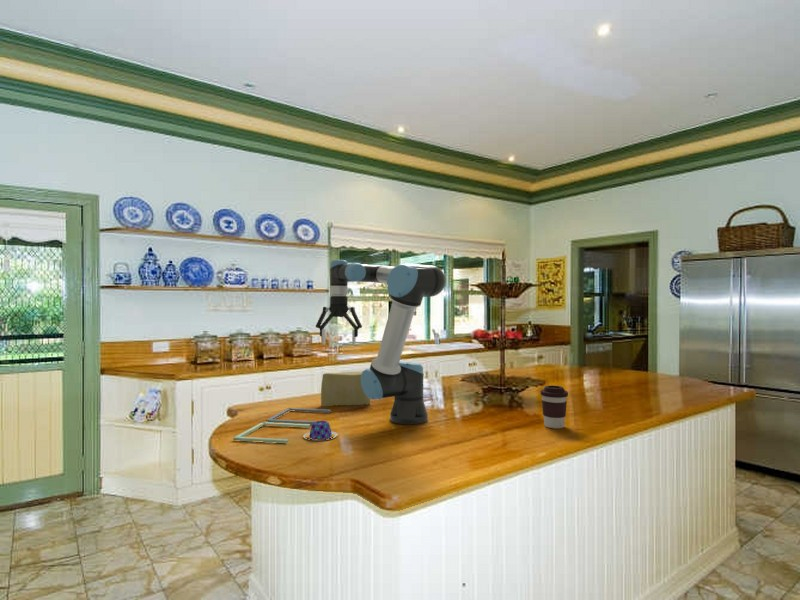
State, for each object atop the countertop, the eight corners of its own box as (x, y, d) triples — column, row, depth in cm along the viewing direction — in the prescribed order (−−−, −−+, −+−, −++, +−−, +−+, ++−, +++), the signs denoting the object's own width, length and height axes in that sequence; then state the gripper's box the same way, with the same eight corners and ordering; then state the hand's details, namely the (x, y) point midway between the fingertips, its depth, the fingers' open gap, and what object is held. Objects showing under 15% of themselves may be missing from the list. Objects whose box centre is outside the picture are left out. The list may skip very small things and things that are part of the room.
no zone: (331, 412, 199) (331, 409, 199) (313, 425, 179) (313, 422, 179) (288, 410, 203) (288, 407, 203) (266, 423, 182) (266, 420, 182)
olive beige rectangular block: (322, 408, 207) (322, 375, 207) (319, 404, 216) (319, 371, 216) (370, 405, 213) (370, 372, 213) (366, 401, 223) (366, 369, 223)
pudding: (297, 441, 160) (297, 425, 160) (312, 431, 171) (312, 417, 171) (329, 443, 157) (329, 428, 157) (342, 433, 168) (342, 419, 168)
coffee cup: (569, 424, 179) (569, 385, 179) (566, 431, 170) (566, 390, 170) (542, 421, 183) (542, 383, 183) (538, 428, 174) (538, 388, 174)
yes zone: (310, 427, 176) (310, 424, 176) (286, 444, 155) (286, 440, 155) (262, 425, 179) (262, 421, 179) (233, 441, 159) (233, 437, 159)
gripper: (368, 295, 204) (368, 343, 205) (314, 295, 208) (314, 342, 208) (364, 295, 197) (364, 345, 197) (308, 295, 201) (308, 344, 201)
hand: (338, 344), depth 203 cm, fingers open, 13 cm apart
